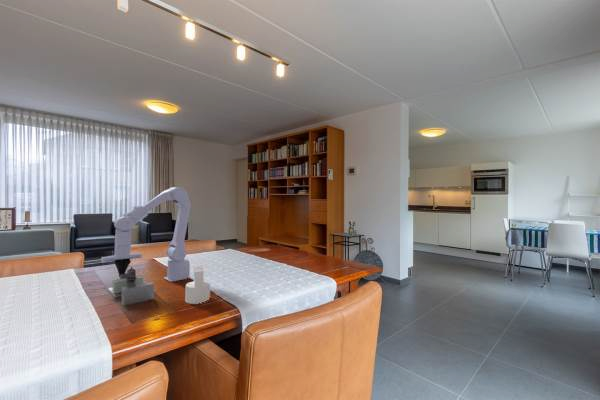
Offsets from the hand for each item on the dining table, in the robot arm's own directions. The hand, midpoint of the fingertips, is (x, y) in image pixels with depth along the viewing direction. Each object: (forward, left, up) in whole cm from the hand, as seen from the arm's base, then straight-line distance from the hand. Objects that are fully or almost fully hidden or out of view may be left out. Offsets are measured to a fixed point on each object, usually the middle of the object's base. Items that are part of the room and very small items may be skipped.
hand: (121, 277), depth 117 cm
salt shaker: (+1, +15, -5) cm, 16 cm away
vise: (0, +12, -4) cm, 13 cm away
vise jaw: (0, +8, -3) cm, 8 cm away
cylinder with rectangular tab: (-17, +34, -5) cm, 38 cm away
